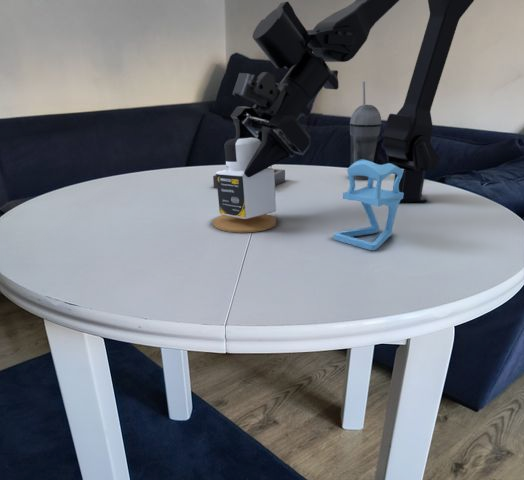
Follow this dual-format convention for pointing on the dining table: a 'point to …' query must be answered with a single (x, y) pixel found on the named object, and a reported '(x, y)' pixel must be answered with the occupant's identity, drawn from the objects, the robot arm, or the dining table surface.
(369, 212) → the chair
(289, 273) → the dining table surface
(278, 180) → the bottle holder
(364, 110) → the beverage cup
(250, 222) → the cork coaster
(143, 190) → the dining table surface
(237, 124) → the robot arm
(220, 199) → the medicine bottle
